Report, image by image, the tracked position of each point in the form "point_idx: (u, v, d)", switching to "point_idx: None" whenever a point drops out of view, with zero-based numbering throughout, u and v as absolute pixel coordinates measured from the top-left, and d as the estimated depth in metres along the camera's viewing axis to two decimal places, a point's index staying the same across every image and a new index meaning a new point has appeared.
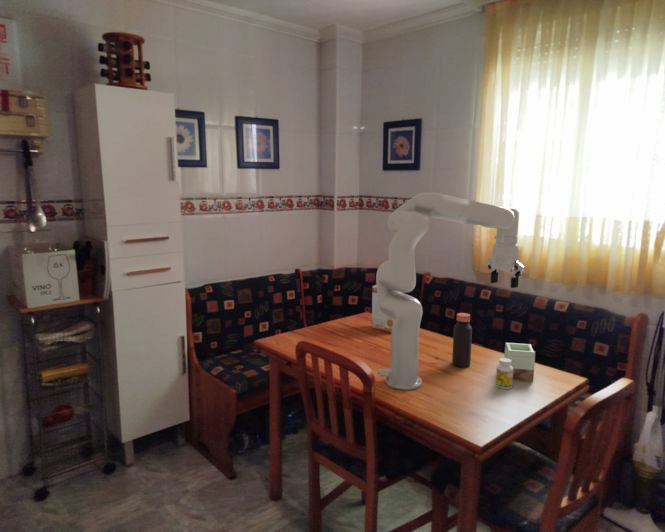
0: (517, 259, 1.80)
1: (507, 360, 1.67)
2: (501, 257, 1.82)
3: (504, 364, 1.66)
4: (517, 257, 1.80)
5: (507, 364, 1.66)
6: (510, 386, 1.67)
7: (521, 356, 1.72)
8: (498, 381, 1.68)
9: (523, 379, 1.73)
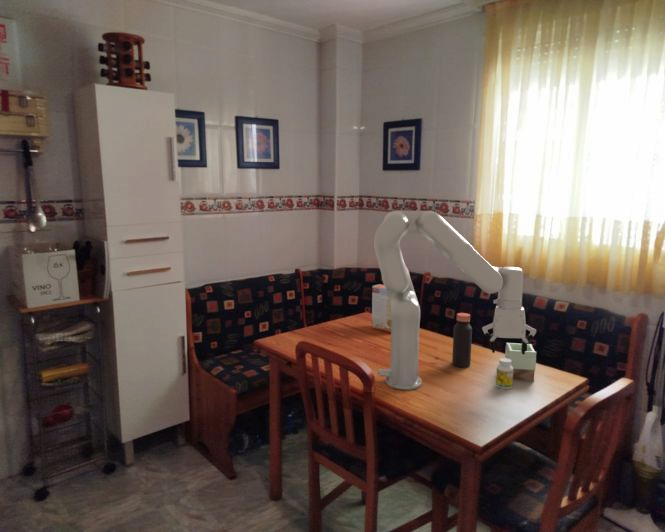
0: None
1: (507, 360, 1.67)
2: (511, 323, 1.62)
3: (504, 364, 1.66)
4: None
5: (507, 364, 1.66)
6: (510, 386, 1.67)
7: (522, 356, 1.72)
8: (498, 381, 1.68)
9: (523, 379, 1.74)
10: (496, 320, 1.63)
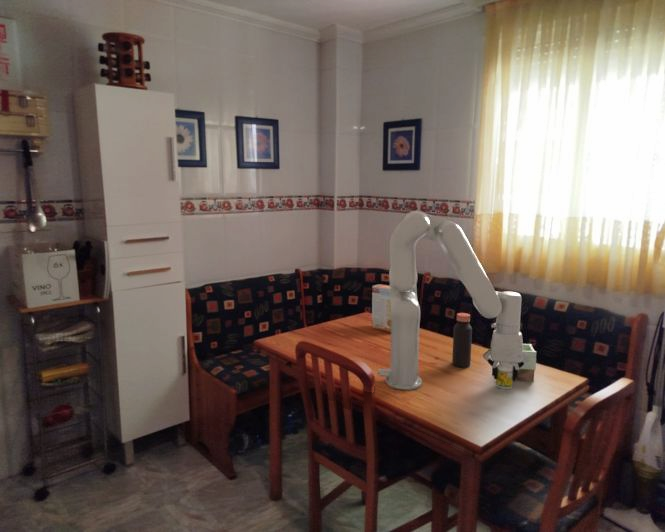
0: None
1: None
2: (509, 348, 1.64)
3: (504, 364, 1.66)
4: None
5: (507, 364, 1.66)
6: (510, 386, 1.67)
7: None
8: (498, 381, 1.68)
9: (523, 379, 1.73)
10: (494, 344, 1.65)
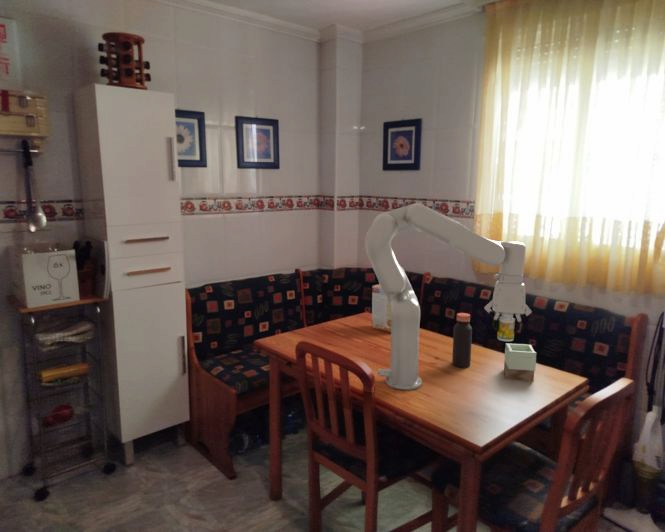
0: None
1: None
2: (511, 299, 1.60)
3: (506, 316, 1.63)
4: None
5: (509, 316, 1.62)
6: (512, 338, 1.64)
7: (522, 357, 1.72)
8: (499, 333, 1.64)
9: (523, 379, 1.73)
10: (496, 295, 1.62)
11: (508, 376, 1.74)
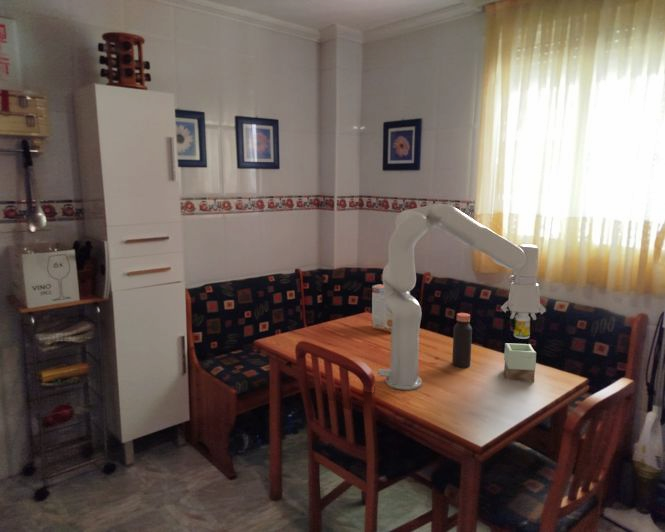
0: None
1: None
2: (526, 298, 1.70)
3: (521, 314, 1.72)
4: None
5: (524, 314, 1.72)
6: (528, 336, 1.73)
7: (522, 356, 1.72)
8: (516, 331, 1.74)
9: (524, 379, 1.73)
10: (512, 295, 1.71)
11: (508, 376, 1.74)
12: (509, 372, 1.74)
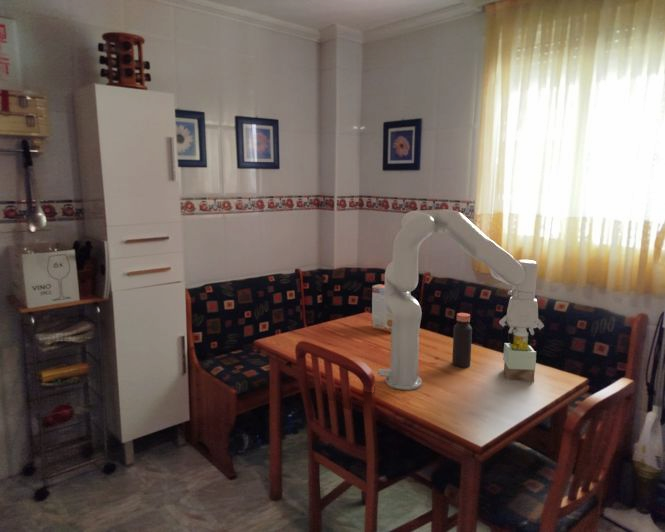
0: None
1: None
2: (524, 313, 1.71)
3: (520, 329, 1.73)
4: None
5: (522, 329, 1.73)
6: (525, 350, 1.74)
7: (522, 356, 1.72)
8: (514, 346, 1.75)
9: (524, 379, 1.73)
10: (510, 310, 1.72)
11: (508, 376, 1.74)
12: (509, 372, 1.74)
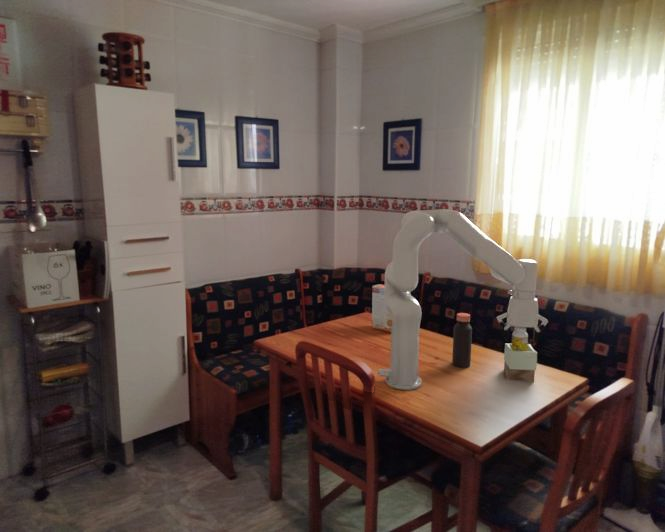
0: None
1: (522, 327, 1.74)
2: (525, 313, 1.71)
3: (519, 331, 1.73)
4: None
5: (522, 331, 1.73)
6: None
7: (523, 357, 1.72)
8: (513, 347, 1.75)
9: (524, 379, 1.73)
10: (510, 309, 1.72)
11: (508, 376, 1.74)
12: (509, 372, 1.74)
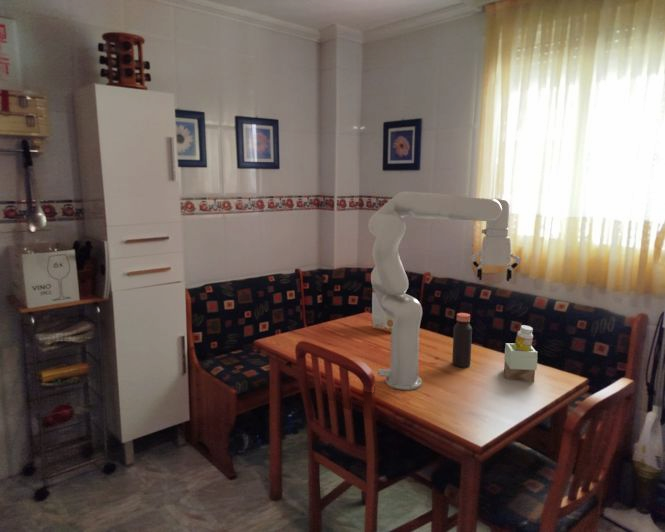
0: None
1: (528, 328, 1.73)
2: (497, 251, 1.73)
3: (523, 331, 1.72)
4: None
5: (526, 331, 1.72)
6: None
7: (524, 356, 1.72)
8: (515, 345, 1.75)
9: (524, 379, 1.73)
10: (483, 248, 1.74)
11: (509, 376, 1.74)
12: (509, 372, 1.74)
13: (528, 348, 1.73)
